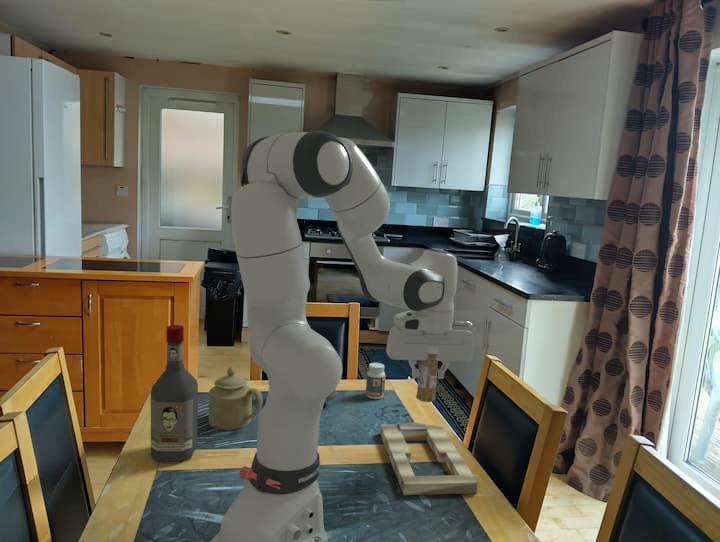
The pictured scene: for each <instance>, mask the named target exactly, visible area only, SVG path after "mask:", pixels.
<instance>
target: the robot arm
mask: <svg viewBox="0 0 720 542" xmlns="http://www.w3.org/2000/svg"><path fill="white" fill-rule="evenodd" d="M240 174H241V177H240V185H241V187H240V188H239V189H237V190H236V191H235V193H234V194H233V196H232V199H231V206H230V208H231V209H230V211H231V214H230V215H231V229H232V238H233V242H234V243H233V244H234V249H235V254H236V258H237V259H236V260H237V262H238V267H239V272H240V277H241V281H242V285H243V290H244V296H245V300H246V312H247V313H246V315H247V316H246V317H247V329H248V330H247V331H248V332H247V337H246V338H247V339H246V342H247V346H248V350H249V353H250V354H251V357H252V359H253V361H254V362H255V364H256V365H257V366H258V367H259V368H260V369H261V370H262V371H263V372H264V373H265V374H266V376H267V379H268V393H267V396H266V401H265V403H264V407H261V409H260V411H259V413H258V414H257V429H256V430H257V431H256V432H257V433H256V434H257V435H256V452H255V454H254V456H253V459H252V461H251V462H252V463H251V467H250V468H249V467H248V466H245V465H244V466H242V467H241V468H240V471H239V473H238V476H239V478H241V479H242V480H243V479H245V480H246V481H247V482H246V483H245V485H244V486H243V488H242V489H241V490H240V492H239V493H238V494H237V496H236V498H235V499H234V500H233V502H232V503H231V505H230V506H229V508H228V509H227V511H226V512H225V514H224V515H223V517H222V520H221V523H220V528H219V529H220V530H219V531H218V533H217V534H216V535H215V536H214V537H213V538H212V539H211V540H210V541H209V542H329V537H328V536H329V535H328V533H327V532H326V530H325V529H324V508H323V507H324V506H323V503H324V502H323V495H322V493H321V490H320V485H319V481H318V479H319V477H320V468H321V461H320V458H321V457H320V453H319V437H320V436H319V435H320V433H319V432H320V421H321V416H322V411H323V407H324V405H325V403H324V402H325V399H326V397H327V396H329V395H330V394H331V393H332V392H333V391H334V390H335V389H336V390H337V387H338V386H339V384H340V381H341V379H342V375H343V362H342V360H341V357H340V355H339V353H338V352H337V351H336V349H335V347H334V346H333V345H332V344H331V342H330V341H329V340H328V339H327V338H325V337H324V336H323V335H321V334H320V333H318V332H316V331H315V330H314V329H312V328H311V326H310V325H309V323H308V320H307V317H306V302H307V294H308V293H309V291H310V289H311V288H310V286H311V282H310V277H309V276H310V275H309V271H308V265H307V261H306V256H305V251H304V245H303V240H302V235H301V230H300V228H299V224H298V221H297V220H298V219H297V209H298V205H299V202H300V199H301V200H302V199H309V198H323V199H324V200H325V203H326V205H327V206H328V208H329V209H330V211H331V212H332V214H333V216H334V218H335V219H336V226H337V229H338V230H337V231H338V233H339V235H340V238H341V240H342V242H343V244H344V247H345V248H346V250H347V253H348V254H349V257H350V258H351V260H352V262H353V264H354V266H355V269H356V271H357V274H358V280H359V284H360V288H361V291H362V293H363V294H364V296H365V297H366V298H367V299H368V300H370V301H372V302H374V303H381V304H387V305H389V306H392V307H396V308H401V309H404V310H406V311H404V312H400V313H396V314H395V315H394V317H393V322H394V325H393V326H391V328H390V330H389V334H388V336H387V341H386V350H385V351H386V354H387V356H388V357H389V358H390V359H391V360H393V361H394V360H397V361H398V360H400V361H402V360H403V361H404V360H405V361H408V363H409V366H410V367H411V368H410V369H411V377H412V378H413V379H418V378H420V371H419V368H416V365H417V363H418V361H420V360H427V358H428V354H427V347H428V346H438V347H439V349H438V354H437V356H436V360H437V361H438V362H441V363H442V364H441V366H440V367H439V368H438V371H437V380H443V379H444V377H445V372H446V371H447V370H448V369H449V367H450V366H451V365H450V364H451V362H463V363H464V362H467V363H468V362H471V361H472V360H473V359H474V355H475V354H474V353H475V352H474V351H475V342H474V341H475V340H474V339H475V336H476V331H477V330H476V329H477V328H476V326H475V325H474V324H473V323H471V322H470V321H466V320H465V321H461V320H460V321H459V320H454V315H455V314H454V313H455V304H454V298H455V295H456V292H457V289H458V287H457V285H458V274H459V273H458V269H459V268H458V260H457V257H456V256H455V254H453V253H452V252H447V251H445V250H444V251H443V250H438V249H435V248H434V249H433V248H427V249H424V250H423V252H422V255H421V256H420V257H419V258H418V259H416V260H415V261H413V262H410V263H409V264H406V263H402V262H397V261H393V260H391V259H389V258H386V256H383V255H382V254H381V253H380V250H379V248H378V246H377V243H376V242H375V239H374V237H373V235H372V234H374V232H376V231H377V230H379V229H380V227H382V225H384V223H385V221H387V218H388V216H389V213H390V210H391V201H390V197H389V194H388V191H387V189H386V187H385V186H384V184H383V182H382V180H381V178H380V176H379V175H378V173H377V172H376V170H375V168H374V166H373V164H372V163H371V162H370V161H369V159H368V158H367V156H366V155H365V154H364V152H363V151H362V150H361V149H360V147H359V146H357V144H356V143H355V142H354V141H353V140H351V139H349V138H347V137H339V136H338V135H336V134H333V133H331V132H328V131H323V130H312V131H308V132H306V131H300V132H293V131H289V132H288V131H287V132H283V133H282V132H281V133H277V134H275V135H271V136H264V137H261V138H258V139H257V140H255V141H253V142H251V144H249V145H248V146H247V147H246V149H245V150H244V152H243V155H242V157H241V163H240ZM435 355H436V354H435Z"/></svg>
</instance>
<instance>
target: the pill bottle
mask: <svg viewBox="0 0 720 542" xmlns="http://www.w3.org/2000/svg"><path fill="white" fill-rule="evenodd" d="M365 384H366V385H365V396H366V397H367V398H368V399H371V400H373V399H374V400H380V399H382V398H384V397H385V386H386V373H385V365H384V363H381V362H371V363H369V364H368V371H367V372H366V383H365Z"/></svg>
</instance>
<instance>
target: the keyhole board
mask: <svg viewBox="0 0 720 542" xmlns="http://www.w3.org/2000/svg"><path fill="white" fill-rule="evenodd" d="M379 426H380V427H379V429H380V430H379V434H380V437H381V440H382V442H383V445H384V448H385V451H386V452H387V455H388V459H389V461H390V463H391V466H392V469H393V471H394V474H395V477H396V479H397V481H398V484H399V486H400V489H401V492H402V494H403V496H419V495H420V496H422V495H423V496H424V495H425V496H427V495H457V494H458V495H462V494H477V491H478V480H477V479H476V477H475V476H474V474H473V473H472V471H471V470H470V468H469V467H468V465H467V464H466V461H465V460H464V459H463V458H462V456H461V454H460V453H459V451H458V450H457V448H456V447H455V445H454V444H453V441H452V440H451V438H449V436H448V435H447V433H446V431H445V429H444V428H443V426H442V424H440V423H439V424H438V423H435V424H433V423H431V424H430V423H429V424H428V423H425V422H398V423H397V424H380V425H379ZM408 441H410V442H411V441H412V442H414V441H415V442H416V441H421V442H423V441H424V442H425V441H426V442H427V443H428V445H429V447H430V449H431V451H432V452H433V454H434V456H435V458H436V460H437V461H438V463H445V464H446V466H447V468H448V470H449V472H450V473H451V474H450V475H415V473H414V471H413V469H412V466H411V464H410V463H411V458H412V453H411V452H412V451H410V448H409V446H408V444H407V442H408Z"/></svg>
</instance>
